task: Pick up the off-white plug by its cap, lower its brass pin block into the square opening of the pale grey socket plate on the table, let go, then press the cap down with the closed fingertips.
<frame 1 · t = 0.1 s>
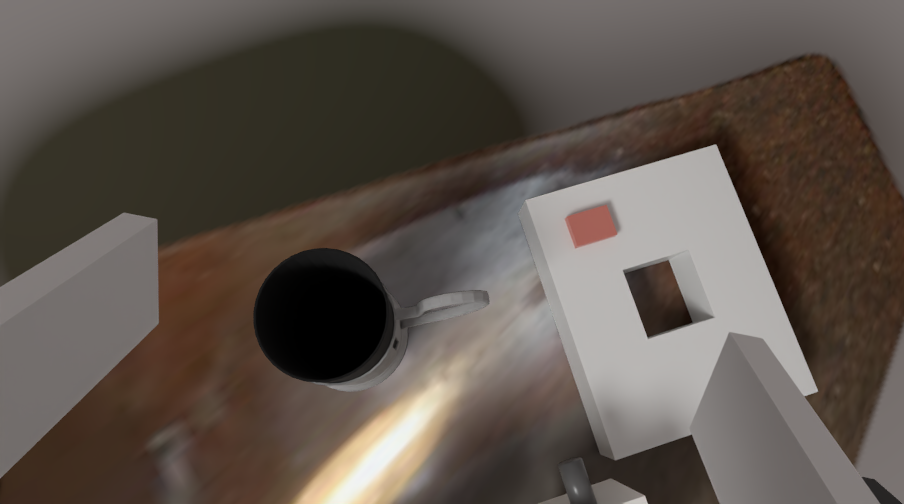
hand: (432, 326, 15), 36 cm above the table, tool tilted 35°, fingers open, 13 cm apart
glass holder: (386, 329, 50), on the table
socket: (650, 300, 51), on the table
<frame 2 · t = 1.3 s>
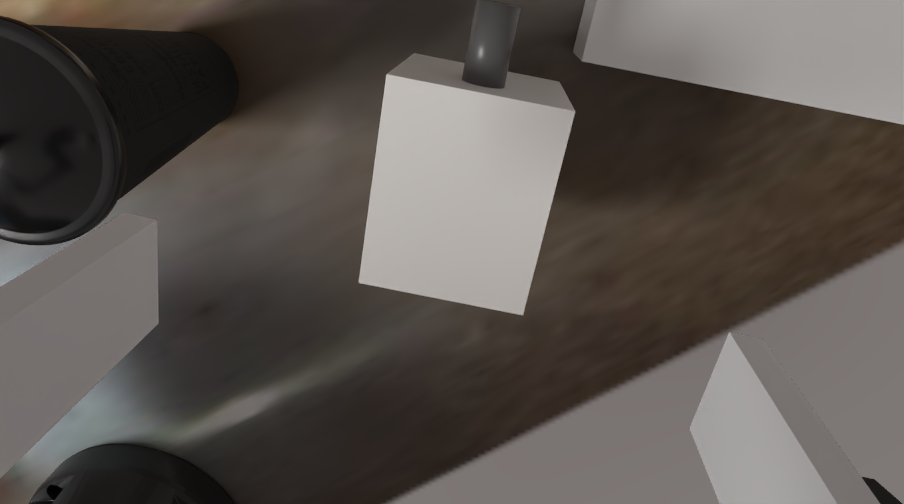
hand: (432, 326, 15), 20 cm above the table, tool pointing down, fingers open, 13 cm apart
plug: (473, 134, 33), on the table
drinking cup: (195, 79, 33), on the table
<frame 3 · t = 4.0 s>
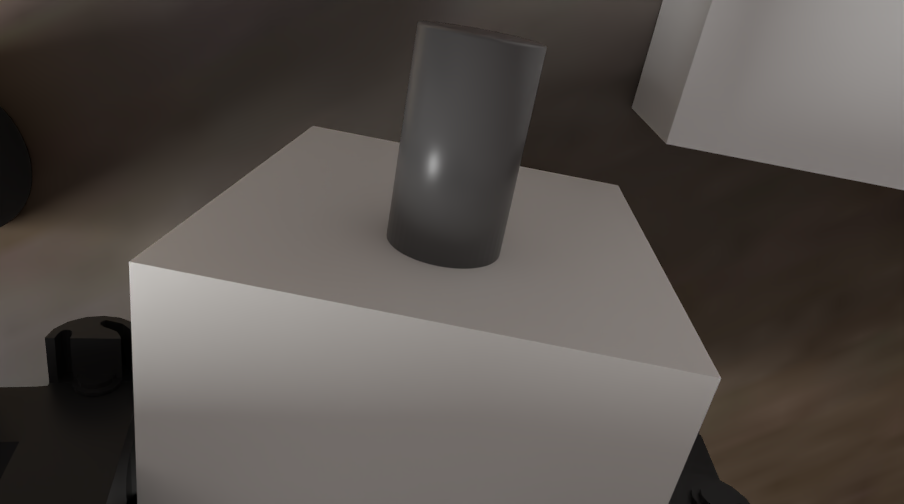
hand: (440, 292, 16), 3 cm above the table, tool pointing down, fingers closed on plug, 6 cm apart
plug: (449, 249, 19), on the table, touching gripper
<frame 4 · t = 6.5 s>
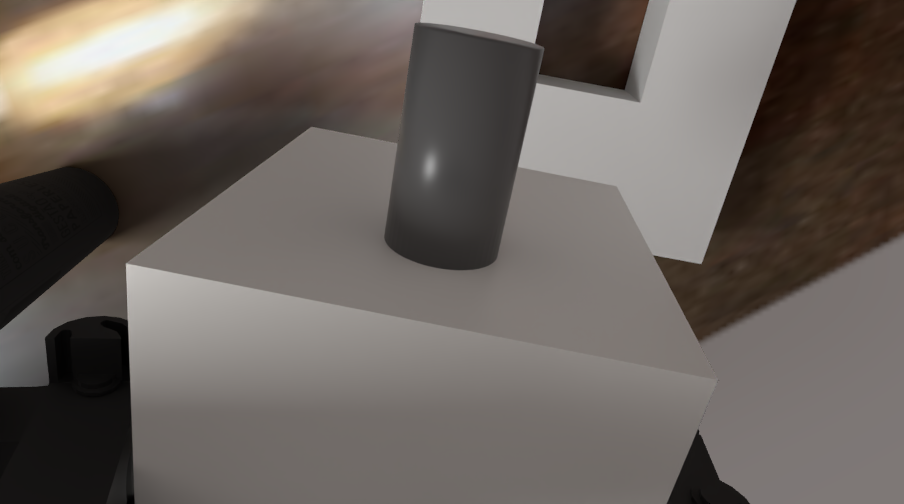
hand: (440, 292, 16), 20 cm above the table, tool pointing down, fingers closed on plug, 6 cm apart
plug: (448, 250, 19), point 17 cm above the table, touching gripper
socket: (587, 26, 32), on the table
drinking cup: (81, 204, 38), on the table
when the fingers open (6 cm above the table, at t = 9.1 s): plug drops 3 cm, resting in socket.
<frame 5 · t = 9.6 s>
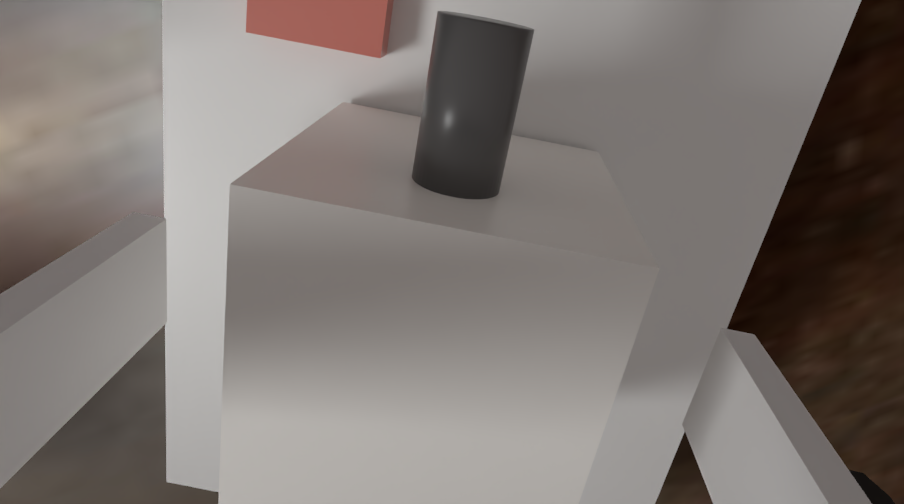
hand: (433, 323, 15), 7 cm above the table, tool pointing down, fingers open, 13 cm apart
plug: (455, 216, 21), resting in socket
socket: (456, 217, 21), on the table
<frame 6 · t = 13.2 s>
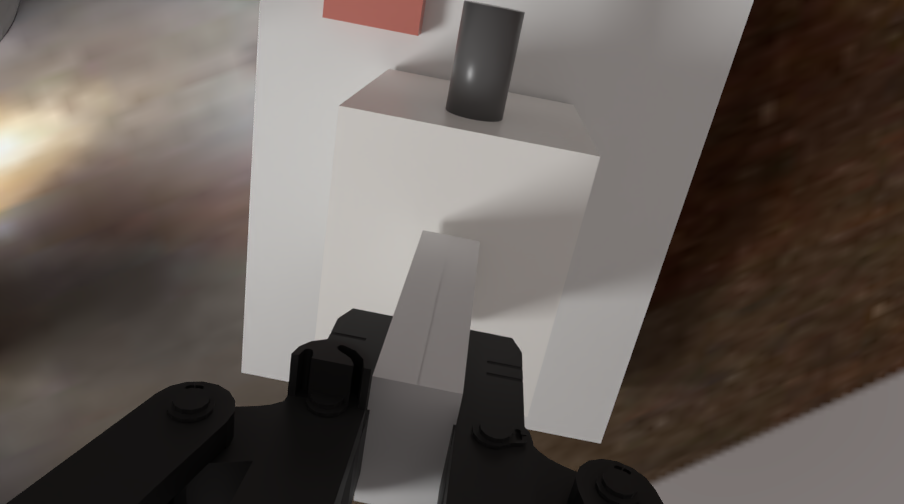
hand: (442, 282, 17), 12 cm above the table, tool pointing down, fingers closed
plug: (467, 164, 27), resting in socket
socket: (468, 165, 27), on the table
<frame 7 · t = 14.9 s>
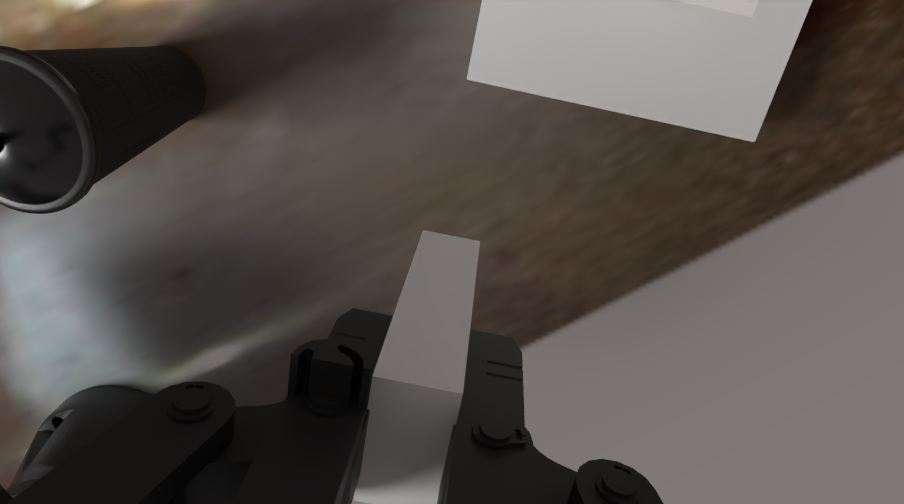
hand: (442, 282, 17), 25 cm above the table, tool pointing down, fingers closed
drinking cup: (171, 84, 41), on the table
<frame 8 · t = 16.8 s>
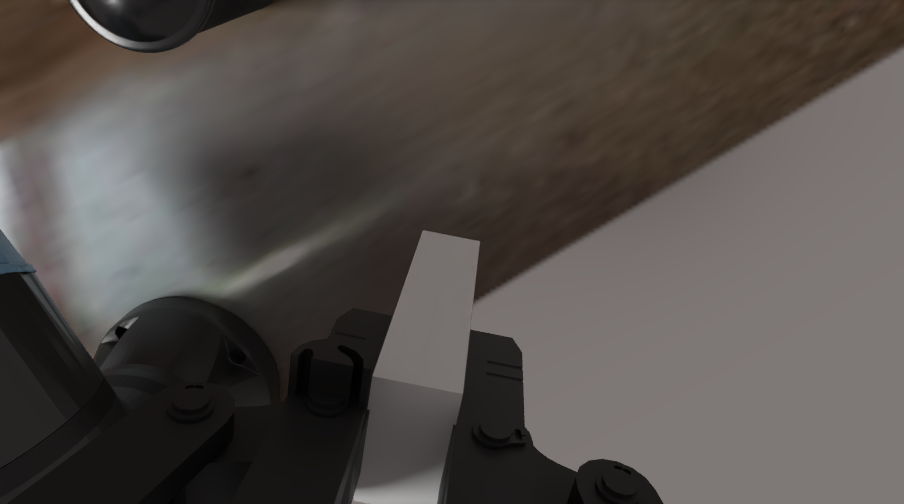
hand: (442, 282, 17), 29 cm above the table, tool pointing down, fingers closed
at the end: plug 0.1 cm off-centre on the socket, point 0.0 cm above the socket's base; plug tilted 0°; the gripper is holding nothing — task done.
